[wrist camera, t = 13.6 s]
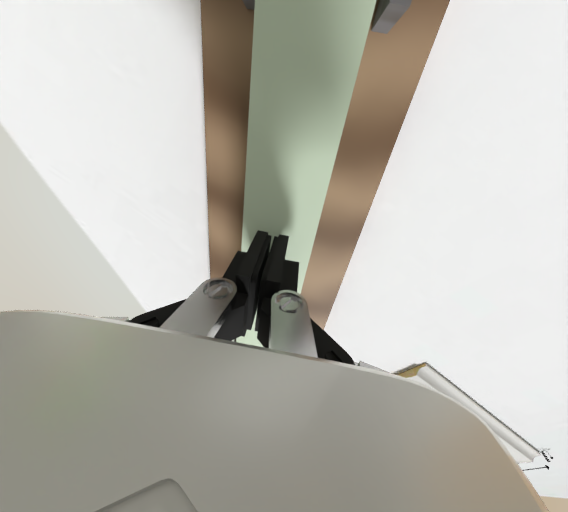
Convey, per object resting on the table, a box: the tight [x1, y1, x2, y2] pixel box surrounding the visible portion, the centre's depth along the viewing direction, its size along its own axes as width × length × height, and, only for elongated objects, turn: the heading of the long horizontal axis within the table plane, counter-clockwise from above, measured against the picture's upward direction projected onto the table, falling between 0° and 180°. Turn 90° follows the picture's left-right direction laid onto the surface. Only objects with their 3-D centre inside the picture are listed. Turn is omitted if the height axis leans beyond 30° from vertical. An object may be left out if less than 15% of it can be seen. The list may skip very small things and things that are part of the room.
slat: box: [236, 0, 376, 347], centre depth 14 cm, size 26×4×5 cm, turn 171°
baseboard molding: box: [398, 363, 553, 471], centre depth 32 cm, size 31×3×12 cm
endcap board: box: [201, 0, 450, 342], centre depth 16 cm, size 31×12×4 cm, turn 171°
